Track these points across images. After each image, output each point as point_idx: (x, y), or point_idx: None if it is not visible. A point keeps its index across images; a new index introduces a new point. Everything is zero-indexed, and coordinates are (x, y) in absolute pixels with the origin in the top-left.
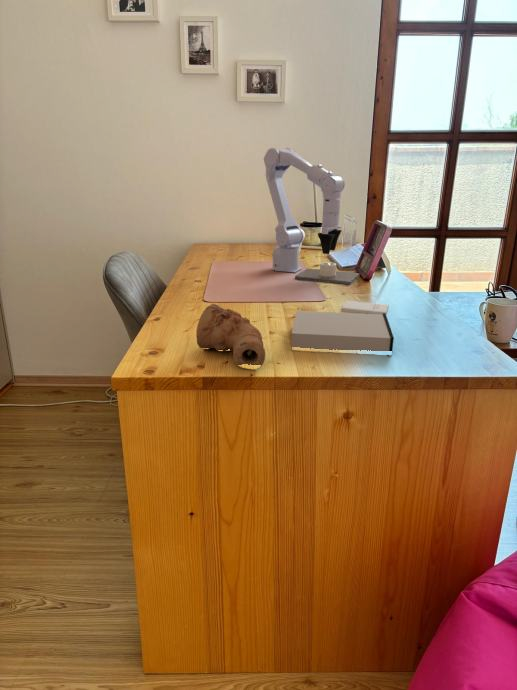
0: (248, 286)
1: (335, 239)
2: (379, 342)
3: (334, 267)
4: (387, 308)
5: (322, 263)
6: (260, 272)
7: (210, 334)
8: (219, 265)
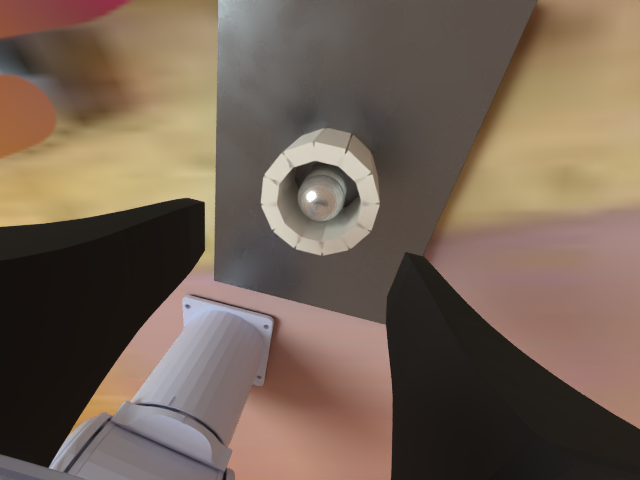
0: None
1: (111, 256)
2: None
3: (356, 151)
4: None
5: (316, 242)
6: (300, 408)
7: None
8: (243, 477)
